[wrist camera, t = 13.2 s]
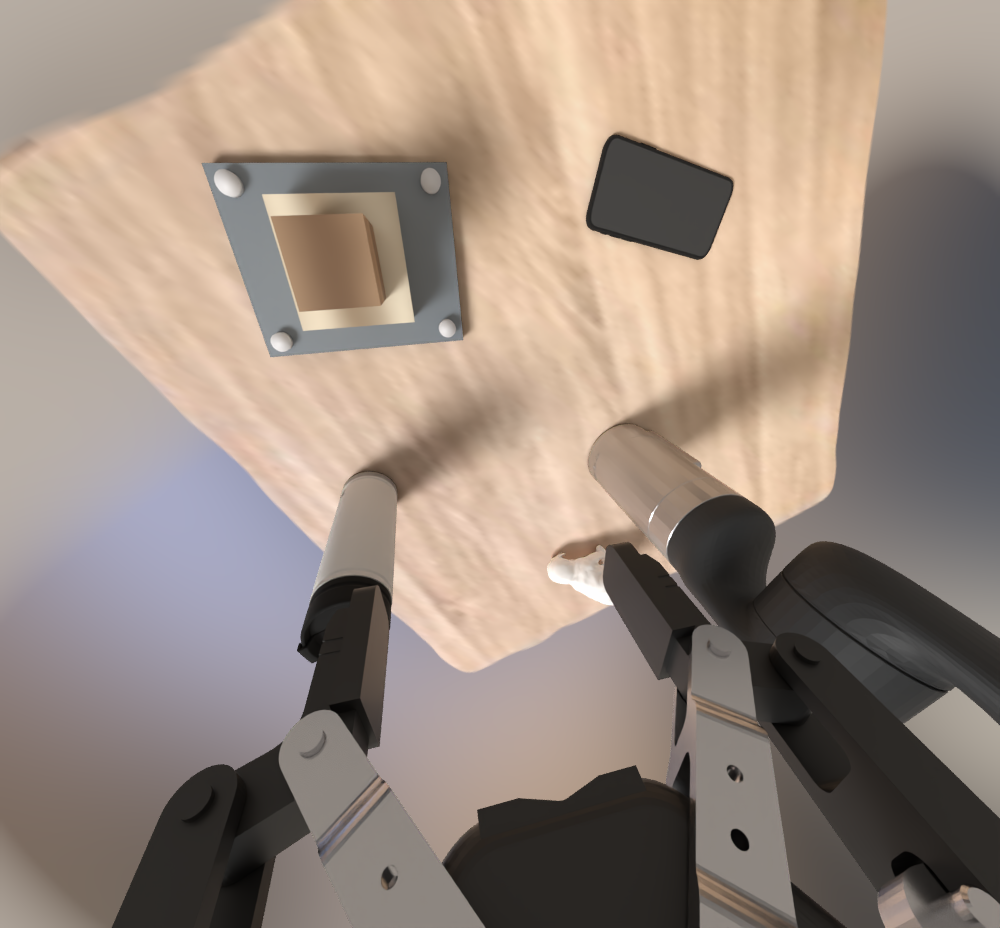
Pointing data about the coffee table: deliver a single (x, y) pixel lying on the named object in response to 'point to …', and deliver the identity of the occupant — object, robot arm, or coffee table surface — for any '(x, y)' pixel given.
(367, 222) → the walnut block
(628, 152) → the smartphone
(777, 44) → the coffee table surface
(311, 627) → the travel mug
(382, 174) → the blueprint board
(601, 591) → the white lumpy piece
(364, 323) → the birch plinth
